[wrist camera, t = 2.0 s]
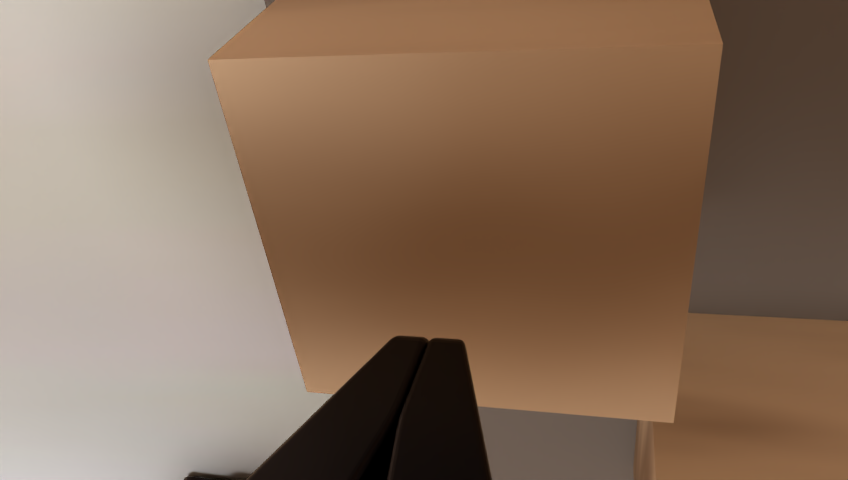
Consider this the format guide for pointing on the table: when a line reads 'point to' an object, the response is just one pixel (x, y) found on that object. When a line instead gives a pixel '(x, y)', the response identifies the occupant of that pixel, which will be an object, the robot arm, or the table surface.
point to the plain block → (482, 186)
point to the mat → (736, 215)
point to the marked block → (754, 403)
